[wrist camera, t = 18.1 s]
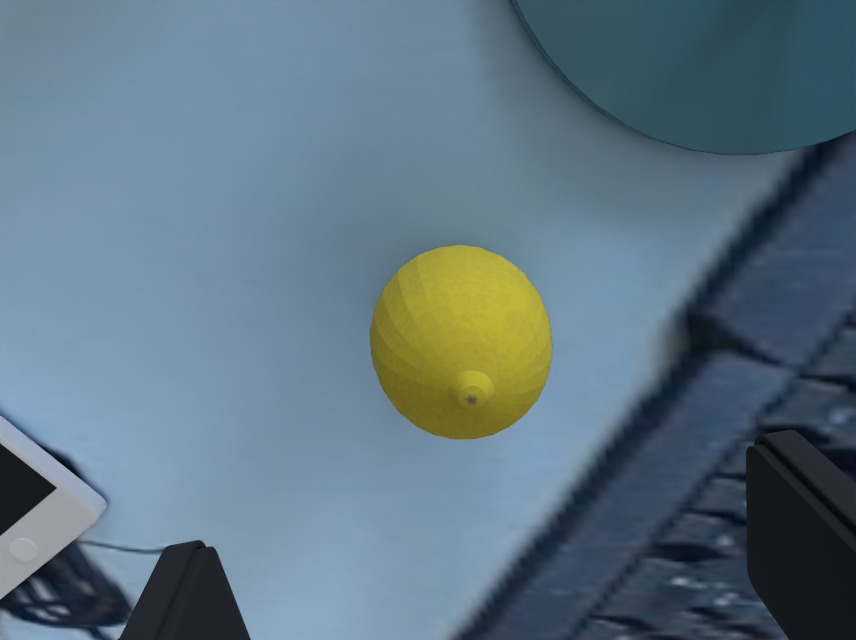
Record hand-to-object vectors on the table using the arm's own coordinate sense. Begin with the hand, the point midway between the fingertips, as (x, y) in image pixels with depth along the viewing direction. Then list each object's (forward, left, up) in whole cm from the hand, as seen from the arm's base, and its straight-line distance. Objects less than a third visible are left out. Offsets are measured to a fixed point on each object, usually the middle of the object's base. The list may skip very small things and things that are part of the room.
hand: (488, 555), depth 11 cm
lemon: (0, 0, -14) cm, 14 cm away
